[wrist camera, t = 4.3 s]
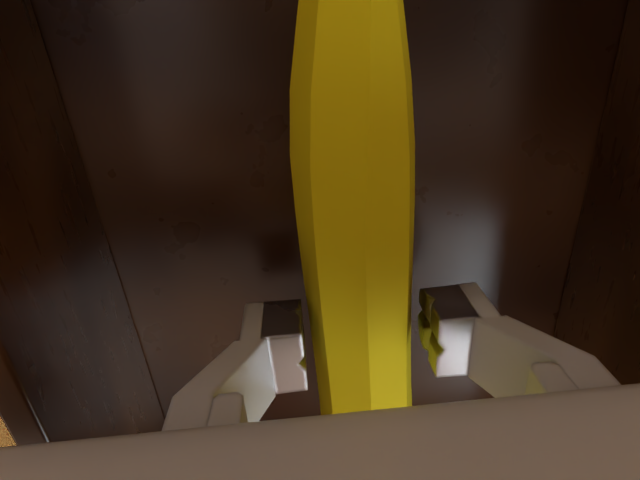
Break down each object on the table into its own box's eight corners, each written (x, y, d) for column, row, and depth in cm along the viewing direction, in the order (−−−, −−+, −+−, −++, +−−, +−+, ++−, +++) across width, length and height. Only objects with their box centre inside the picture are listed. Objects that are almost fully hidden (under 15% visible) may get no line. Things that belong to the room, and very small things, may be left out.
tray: (-45, -169, 9) (-469, -415, 4) (689, -211, 9) (1146, -482, 4) (182, 508, 19) (145, 679, 14) (529, 471, 19) (612, 624, 14)
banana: (392, -101, 9) (557, -296, 4) (400, 470, 18) (452, 677, 12) (259, -88, 9) (214, -267, 4) (330, 478, 18) (350, 690, 12)
